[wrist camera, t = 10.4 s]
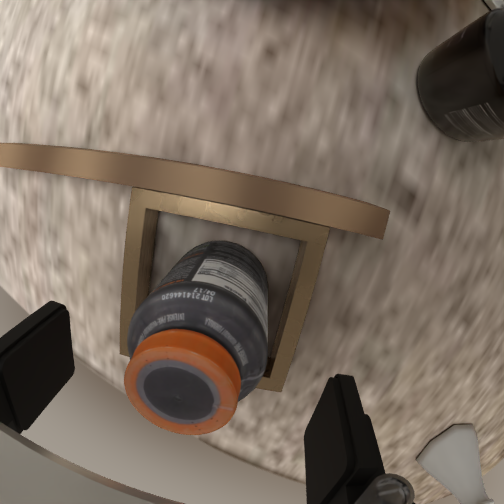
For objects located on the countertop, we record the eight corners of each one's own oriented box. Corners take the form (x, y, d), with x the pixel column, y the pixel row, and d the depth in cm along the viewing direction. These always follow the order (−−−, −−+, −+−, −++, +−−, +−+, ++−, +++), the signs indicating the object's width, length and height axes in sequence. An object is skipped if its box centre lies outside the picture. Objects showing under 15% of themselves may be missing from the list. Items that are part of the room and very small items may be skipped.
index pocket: (322, 220, 19) (330, 227, 17) (280, 370, 22) (281, 392, 20) (148, 184, 19) (132, 187, 17) (132, 336, 22) (119, 353, 20)
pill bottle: (191, 331, 22) (136, 453, 11) (165, 250, 20) (69, 331, 9) (276, 316, 21) (281, 447, 10) (256, 229, 20) (241, 304, 9)
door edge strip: (367, 202, 19) (390, 210, 15) (361, 225, 19) (382, 239, 15) (15, 143, 19) (-19, 142, 15) (13, 161, 19) (-22, 164, 15)
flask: (455, 414, 23) (498, 486, 13) (484, 429, 24) (522, 488, 14) (403, 461, 25) (430, 535, 15) (439, 470, 25) (465, 532, 16)
